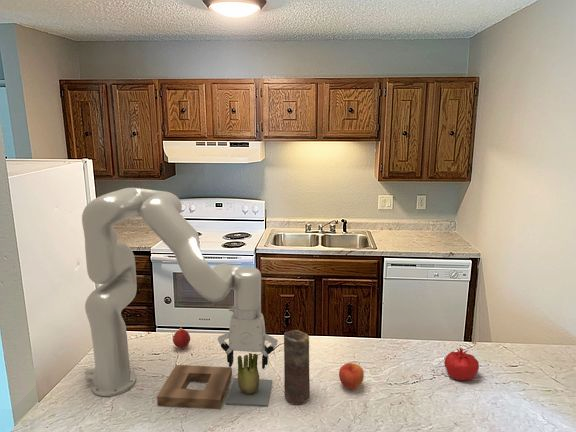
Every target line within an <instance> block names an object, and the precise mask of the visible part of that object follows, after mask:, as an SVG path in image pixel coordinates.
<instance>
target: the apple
mask: <svg viewBox="0 0 576 432" xmlns="http://www.w3.org/2000/svg"><path fill="white" fill-rule="evenodd" d="M338 376H339V382H340V383H341V385H342V386H343V387H344V388H345V389H347V390H351V391H354V390H356V389H358V388H359V387H360V386H361V385H362V383H363V381H364V377H365V374H364V370H363V368H362V367H361V366H360V365H359V364H357V363H353V362H348V363H344V364H343V365H342V366H341V367H340V368H339V371H338Z"/></svg>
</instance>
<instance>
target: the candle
mask: <svg viewBox="0 0 576 432" xmlns="http://www.w3.org/2000/svg"><path fill="white" fill-rule="evenodd" d="M283 354H284V355H283V362H284V363H283V366H284V367H283V368H284V370H283V371H284V373H283V376H284V377H283V378H284V381H283V382H284V383H283V384H284V387H283V388H284V398H285V399H286V401H287V402H288V403H289V404H290V405H302V404H303V403H305V402H306V401H308V400H309V398H310V394H311V391H310V389H311V387H310V386H311V384H310V383H311V382H310V379H311V378H310V335H308V334H307V333H306V332H303V331H301V330H299V329H295V330H294V329H293V330H289V331H285V332H284V334H283Z"/></svg>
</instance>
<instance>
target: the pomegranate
mask: <svg viewBox="0 0 576 432" xmlns="http://www.w3.org/2000/svg"><path fill="white" fill-rule="evenodd" d="M467 352H469V349H468V350H465V351H464V348H462V347H458V348H456V351H450V352H449V353H448V354H447V355H446V356H445V357H444V361H443V362H444V363H443V364H444V368H445V369H446V372H447V375H448V376H449V377H450V378H452V379H454V380H457V381H471V380H473V379H474V378H475V377H476V375H477V374H478V372H479V369H480V365H479V364H480V363H479V360H478V359H476V357H475V356H474V355H473V354H469V353H467Z"/></svg>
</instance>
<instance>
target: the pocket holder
mask: <svg viewBox="0 0 576 432" xmlns="http://www.w3.org/2000/svg"><path fill="white" fill-rule="evenodd" d="M232 377H233V367H232V366H231V367H229V366H211V365H190V364H189V365H187V364H175V365H174V366H173V369H172V371H170V374H169V376H168V377H167V379H166V380H165V382H164V383H163V385H162V388H161V389H160V391H159V392H158V394H157V396H156V405H157V407H170V408H187V409H189V408H190V409H207V410H208V409H209V410H221V409H222V405H223V402H224V400H225V397H226V394H227V391H228V388H229V386H230V383H231V380H232ZM189 381H196V382H195V383H206V386H205V387H204V389H195V388H194V389H192V388H189V389H188V388H187V387H188V386H187V385H189V384H188V383H190V382H189Z"/></svg>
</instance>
